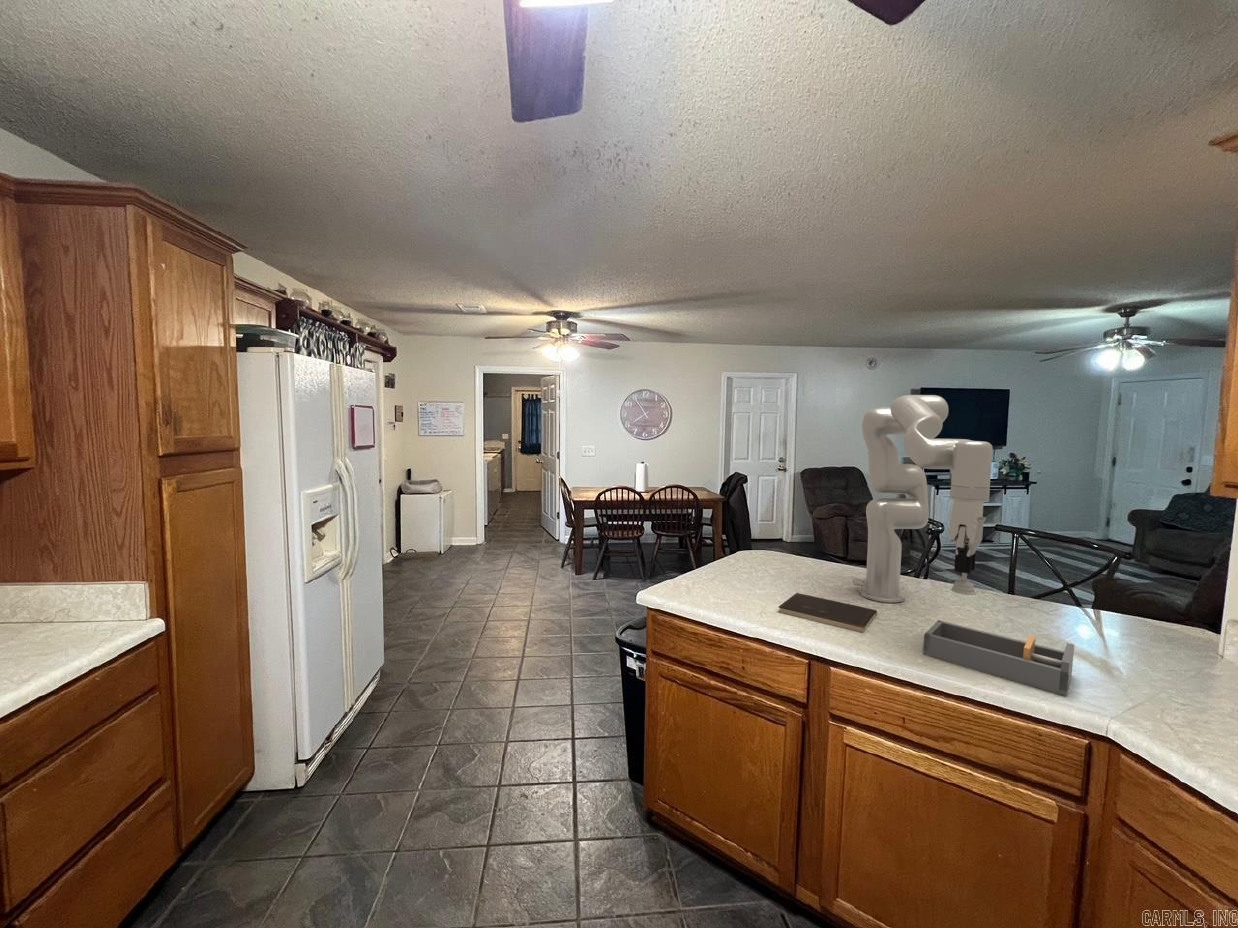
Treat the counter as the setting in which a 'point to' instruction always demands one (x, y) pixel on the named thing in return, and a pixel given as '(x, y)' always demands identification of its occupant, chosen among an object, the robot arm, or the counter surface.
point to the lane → (999, 656)
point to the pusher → (1030, 655)
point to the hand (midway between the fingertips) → (964, 569)
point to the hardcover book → (828, 611)
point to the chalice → (963, 584)
